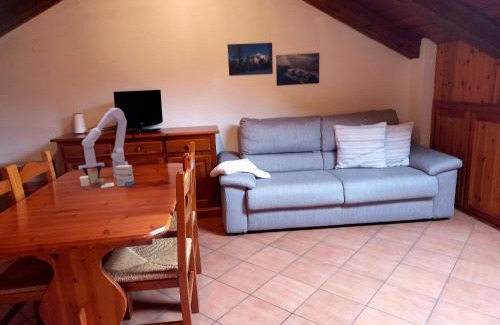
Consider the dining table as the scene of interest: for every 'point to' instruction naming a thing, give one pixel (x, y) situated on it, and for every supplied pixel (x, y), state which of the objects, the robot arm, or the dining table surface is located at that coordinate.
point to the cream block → (84, 180)
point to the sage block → (93, 176)
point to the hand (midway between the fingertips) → (93, 178)
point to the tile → (108, 185)
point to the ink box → (124, 175)
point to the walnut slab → (97, 183)
